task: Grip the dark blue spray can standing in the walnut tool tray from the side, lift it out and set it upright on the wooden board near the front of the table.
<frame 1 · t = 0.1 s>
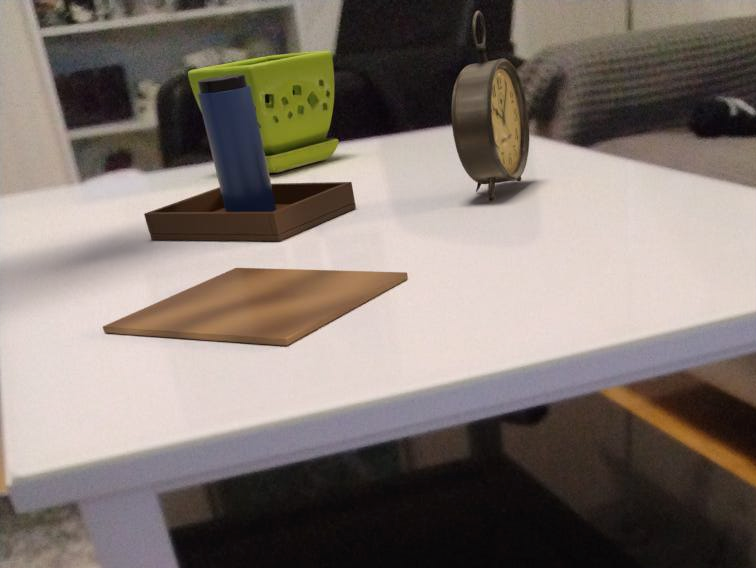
tool tray: (254, 223, 107), on the table
wooden board: (259, 305, 80), on the table
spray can: (253, 217, 107), point 1 cm above the table, touching tool tray
flower pot: (281, 168, 137), on the table
alarm clock: (495, 194, 106), on the table
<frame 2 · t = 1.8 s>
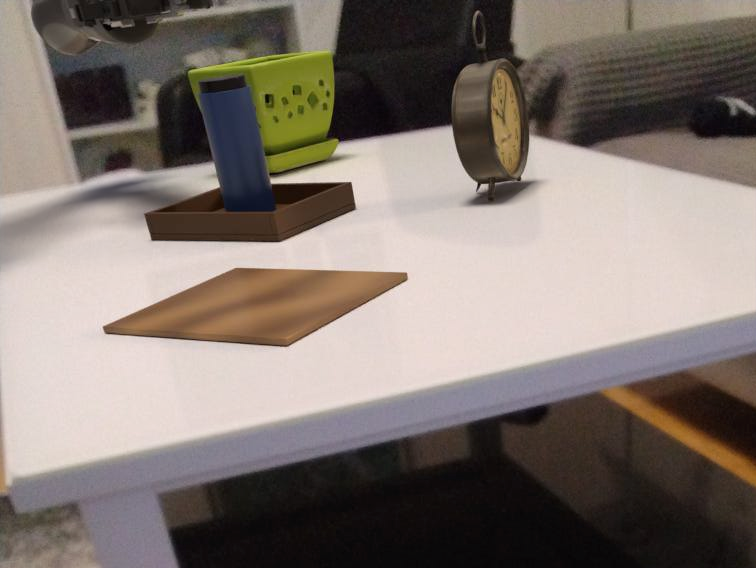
hand: (163, 1, 104), 20 cm above the table, tool horizontal, fingers open, 8 cm apart
nothing on the table moved.
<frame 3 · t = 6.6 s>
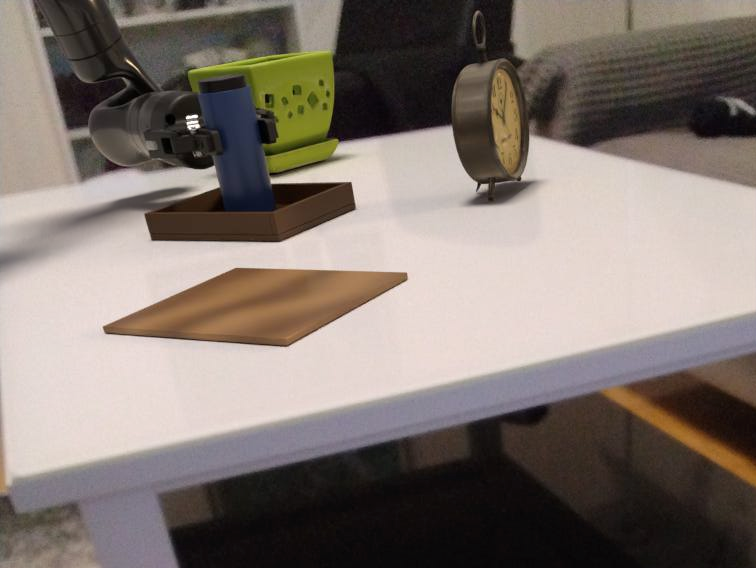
hand: (245, 137, 101), 8 cm above the table, tool horizontal, fingers closed on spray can, 5 cm apart
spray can: (253, 217, 107), point 1 cm above the table, touching gripper, tool tray
everything else where it was.
when the fingers open (8 cm above the table, at t = 17.1 s): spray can stays where it is, resting on wooden board.
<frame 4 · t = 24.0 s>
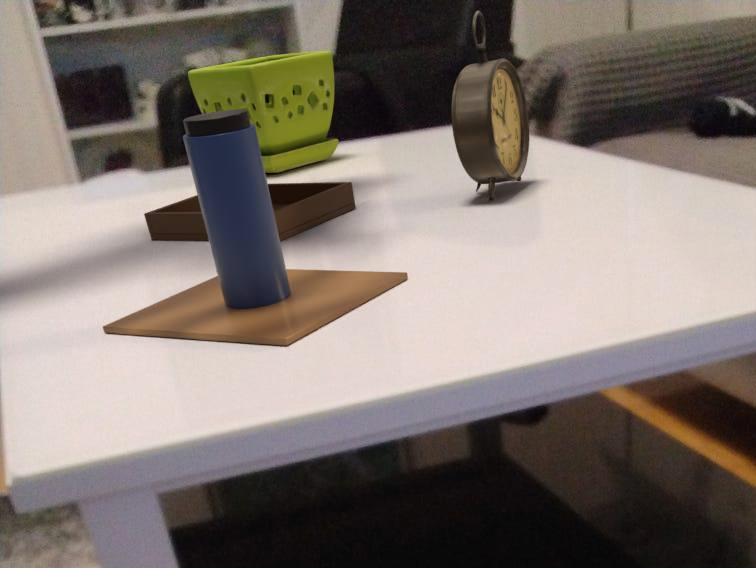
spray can: (258, 298, 80), resting on wooden board
everything else where it was.
at the end: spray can inside the target area on the wooden board (0.1 cm from its centre), point 0.5 cm above the wooden board's base; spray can tilted 0°; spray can touching wooden board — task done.
